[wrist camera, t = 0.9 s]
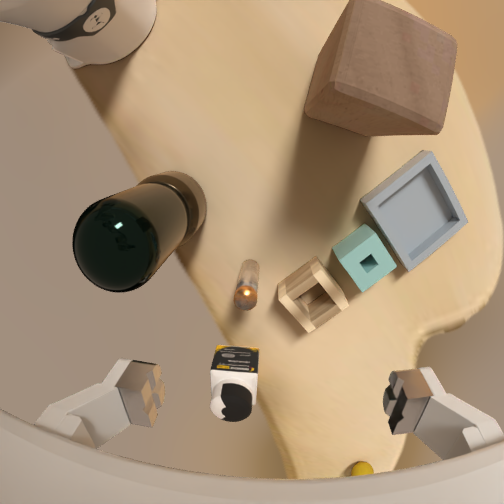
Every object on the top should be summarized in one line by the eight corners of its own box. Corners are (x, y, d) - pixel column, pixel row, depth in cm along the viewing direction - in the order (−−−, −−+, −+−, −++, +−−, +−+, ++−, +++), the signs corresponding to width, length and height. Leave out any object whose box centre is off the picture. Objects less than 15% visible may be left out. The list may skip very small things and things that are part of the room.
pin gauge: (237, 266, 46) (229, 298, 36) (251, 255, 45) (246, 285, 36) (249, 279, 46) (244, 314, 37) (263, 269, 46) (261, 302, 36)
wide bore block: (277, 283, 46) (278, 299, 42) (316, 255, 45) (321, 269, 40) (305, 315, 48) (308, 333, 43) (342, 289, 46) (349, 305, 42)
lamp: (215, 178, 42) (162, 212, 21) (201, 243, 45) (148, 325, 24) (151, 164, 42) (56, 187, 21) (140, 227, 45) (54, 292, 24)
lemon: (374, 457, 61) (380, 481, 54) (360, 468, 63) (365, 491, 56) (359, 454, 61) (364, 479, 53) (344, 465, 62) (348, 490, 55)
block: (301, 115, 38) (328, 91, 20) (319, 50, 35) (354, -15, 16) (370, 139, 39) (445, 139, 20) (386, 75, 35) (462, 37, 17)
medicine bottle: (259, 346, 50) (256, 397, 39) (257, 378, 53) (254, 428, 42) (216, 343, 51) (203, 393, 39) (217, 374, 53) (206, 424, 42)
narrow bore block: (331, 248, 44) (338, 260, 39) (364, 223, 43) (375, 232, 38) (353, 277, 45) (362, 292, 41) (385, 254, 44) (397, 266, 39)
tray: (359, 199, 42) (365, 204, 39) (422, 150, 38) (431, 151, 36) (401, 264, 44) (408, 271, 41) (458, 217, 41) (468, 221, 38)
